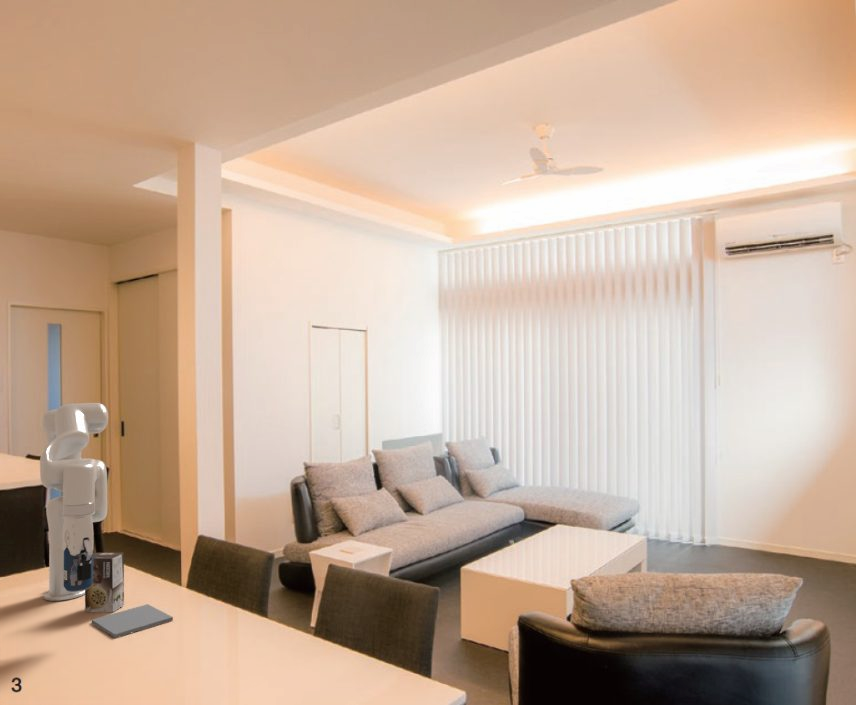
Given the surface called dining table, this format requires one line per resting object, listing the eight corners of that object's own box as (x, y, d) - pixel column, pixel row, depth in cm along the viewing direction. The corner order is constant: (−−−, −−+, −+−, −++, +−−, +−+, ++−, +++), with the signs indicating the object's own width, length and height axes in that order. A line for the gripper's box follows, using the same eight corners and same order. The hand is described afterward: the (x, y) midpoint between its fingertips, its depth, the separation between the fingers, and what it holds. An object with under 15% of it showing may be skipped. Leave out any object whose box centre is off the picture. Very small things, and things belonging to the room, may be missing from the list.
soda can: (86, 582, 176) (86, 538, 177) (97, 587, 172) (97, 542, 172) (59, 589, 171) (59, 543, 171) (70, 594, 167) (70, 548, 167)
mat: (91, 623, 182) (91, 619, 183) (147, 607, 194) (147, 604, 194) (115, 638, 172) (115, 634, 172) (172, 620, 184) (172, 617, 184)
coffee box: (125, 605, 196) (125, 552, 197) (112, 613, 190) (112, 558, 191) (96, 604, 197) (97, 551, 198) (83, 612, 191) (83, 557, 191)
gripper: (52, 507, 175) (51, 572, 175) (75, 517, 163) (75, 587, 163) (81, 502, 180) (81, 566, 180) (106, 512, 169) (106, 580, 168)
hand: (78, 575), depth 172 cm, fingers closed on soda can, 6 cm apart
